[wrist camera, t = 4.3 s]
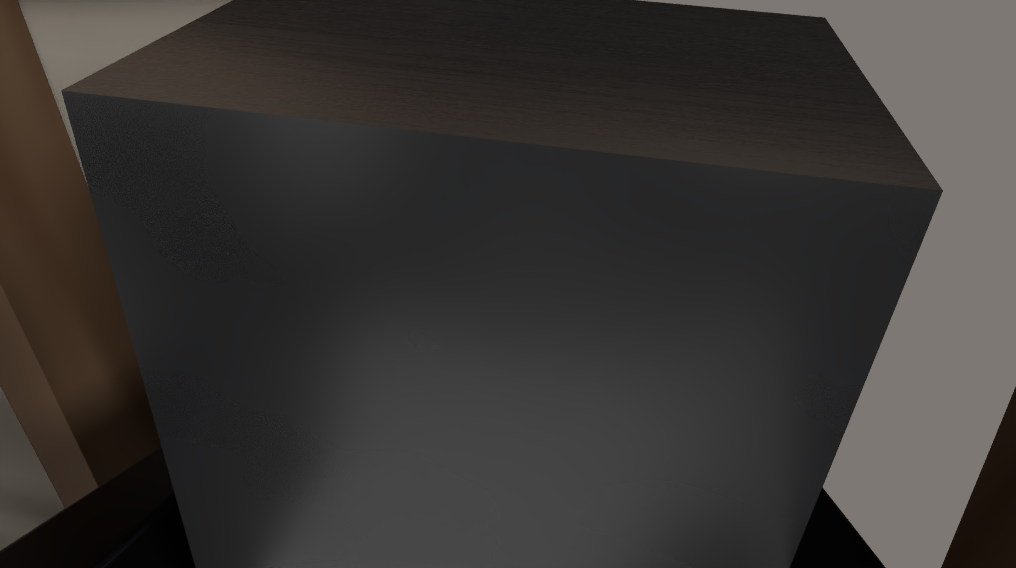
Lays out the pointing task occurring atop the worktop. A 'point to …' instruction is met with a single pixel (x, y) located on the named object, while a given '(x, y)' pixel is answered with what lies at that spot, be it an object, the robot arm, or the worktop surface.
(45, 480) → the worktop surface
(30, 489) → the worktop surface
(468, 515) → the dark gray box
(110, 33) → the worktop surface
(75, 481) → the walnut box
